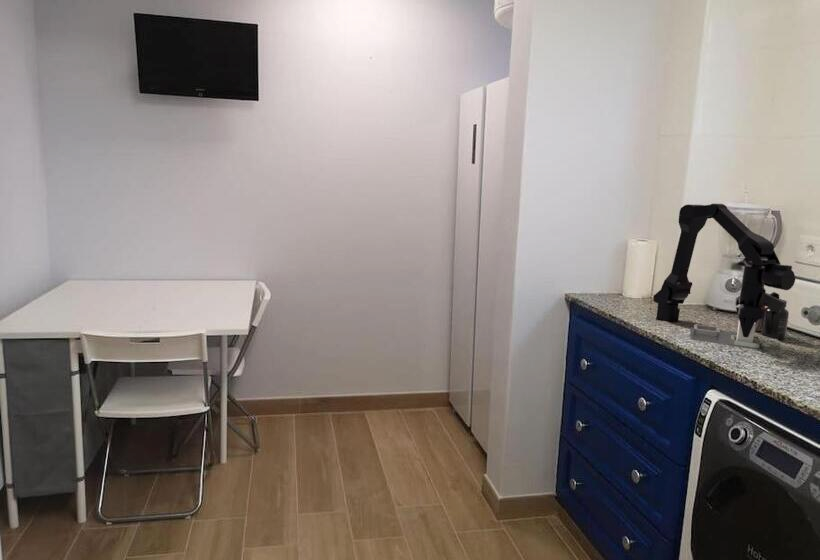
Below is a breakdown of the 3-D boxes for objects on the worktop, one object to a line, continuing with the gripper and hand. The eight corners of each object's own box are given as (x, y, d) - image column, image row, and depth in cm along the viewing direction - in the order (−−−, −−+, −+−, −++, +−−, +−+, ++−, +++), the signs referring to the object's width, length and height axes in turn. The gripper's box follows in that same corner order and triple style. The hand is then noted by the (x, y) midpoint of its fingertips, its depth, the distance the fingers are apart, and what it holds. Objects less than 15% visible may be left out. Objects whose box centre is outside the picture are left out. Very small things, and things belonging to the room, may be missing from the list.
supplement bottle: (782, 336, 194) (788, 299, 192) (787, 341, 188) (793, 303, 185) (757, 333, 196) (763, 296, 194) (762, 338, 190) (768, 300, 187)
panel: (689, 341, 183) (690, 334, 182) (690, 329, 197) (691, 323, 197) (762, 351, 175) (763, 345, 175) (757, 338, 190) (758, 332, 189)
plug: (736, 343, 179) (740, 321, 178) (735, 340, 183) (739, 318, 182) (752, 345, 178) (755, 323, 177) (751, 342, 181) (754, 320, 180)
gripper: (789, 292, 166) (780, 347, 168) (781, 281, 182) (772, 332, 185) (743, 287, 170) (735, 341, 173) (739, 277, 187) (731, 326, 190)
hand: (745, 335), depth 180 cm, fingers open, 4 cm apart
